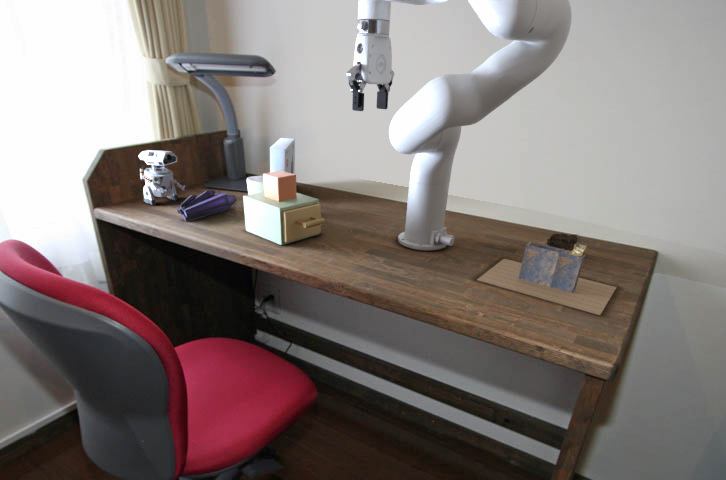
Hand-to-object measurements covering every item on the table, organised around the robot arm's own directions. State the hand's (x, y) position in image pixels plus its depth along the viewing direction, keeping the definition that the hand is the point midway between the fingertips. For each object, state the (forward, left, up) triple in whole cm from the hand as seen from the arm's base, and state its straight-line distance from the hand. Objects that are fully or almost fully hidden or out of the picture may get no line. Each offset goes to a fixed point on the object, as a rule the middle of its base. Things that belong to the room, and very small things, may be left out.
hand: (370, 109), depth 120 cm
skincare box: (+38, -2, -29) cm, 48 cm away
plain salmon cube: (+7, +24, -20) cm, 32 cm away
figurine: (+51, +33, -29) cm, 67 cm away
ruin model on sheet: (-55, +3, -29) cm, 62 cm away
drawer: (+3, +24, -28) cm, 37 cm away
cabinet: (+7, +24, -29) cm, 38 cm away
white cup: (+23, +18, -29) cm, 41 cm away
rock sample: (-50, -20, -29) cm, 61 cm away
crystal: (+33, +29, -29) cm, 53 cm away
